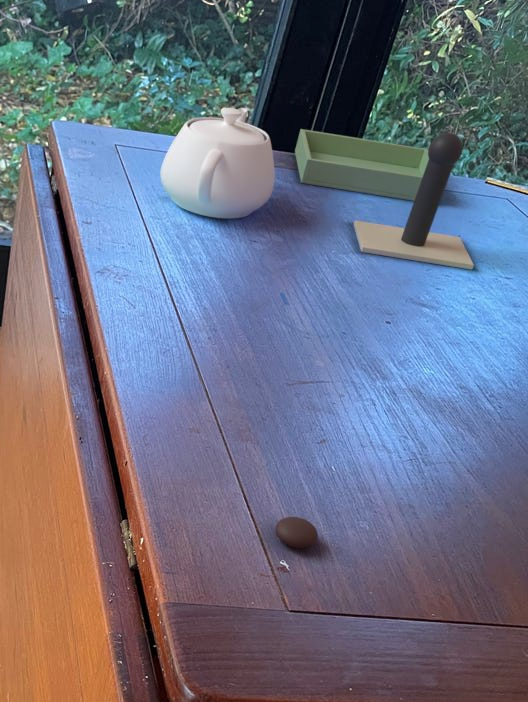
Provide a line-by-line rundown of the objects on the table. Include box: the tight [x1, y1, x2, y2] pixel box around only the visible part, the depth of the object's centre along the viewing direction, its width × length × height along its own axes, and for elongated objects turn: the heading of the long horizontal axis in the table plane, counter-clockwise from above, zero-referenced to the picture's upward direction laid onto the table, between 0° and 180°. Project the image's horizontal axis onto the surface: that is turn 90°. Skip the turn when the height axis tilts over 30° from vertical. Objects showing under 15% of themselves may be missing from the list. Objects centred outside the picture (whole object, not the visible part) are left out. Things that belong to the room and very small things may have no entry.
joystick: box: [353, 132, 475, 271], centre depth 114 cm, size 13×9×13 cm
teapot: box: [159, 107, 276, 219], centre depth 118 cm, size 22×14×11 cm, turn 162°
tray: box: [294, 128, 429, 202], centre depth 136 cm, size 18×14×3 cm
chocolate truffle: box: [274, 516, 318, 549], centre depth 70 cm, size 3×3×2 cm
